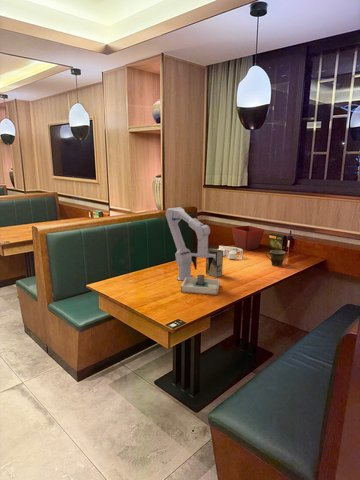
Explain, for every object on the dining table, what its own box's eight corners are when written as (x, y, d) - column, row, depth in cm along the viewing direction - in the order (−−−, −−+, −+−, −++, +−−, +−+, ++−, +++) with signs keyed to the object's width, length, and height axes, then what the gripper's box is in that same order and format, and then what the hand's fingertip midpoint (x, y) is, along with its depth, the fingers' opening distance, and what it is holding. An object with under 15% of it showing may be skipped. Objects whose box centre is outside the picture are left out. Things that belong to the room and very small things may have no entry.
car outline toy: (214, 256, 257) (214, 246, 256) (224, 253, 264) (224, 244, 262) (234, 262, 242) (234, 252, 241) (244, 259, 249) (244, 249, 247)
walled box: (185, 282, 201) (185, 276, 200) (219, 285, 197) (219, 279, 197) (180, 291, 187) (180, 285, 186) (217, 294, 183) (217, 288, 182)
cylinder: (196, 288, 190) (196, 276, 189) (197, 285, 194) (198, 274, 192) (203, 289, 189) (203, 277, 188) (204, 286, 193) (205, 275, 191)
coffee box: (222, 274, 215) (223, 250, 211) (216, 277, 210) (217, 252, 206) (211, 271, 221) (212, 247, 217) (205, 274, 216) (205, 249, 213)
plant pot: (263, 249, 277) (265, 229, 273) (246, 252, 267) (247, 231, 263) (247, 244, 292) (248, 225, 288) (230, 247, 282) (231, 227, 279)
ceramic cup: (282, 263, 238) (283, 250, 236) (285, 268, 228) (286, 254, 226) (263, 263, 239) (264, 249, 237) (265, 267, 230) (266, 253, 227)
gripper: (188, 247, 190) (188, 270, 193) (214, 249, 187) (214, 272, 190) (191, 244, 196) (190, 267, 199) (216, 246, 194) (215, 268, 197)
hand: (202, 269), depth 195 cm, fingers open, 7 cm apart
